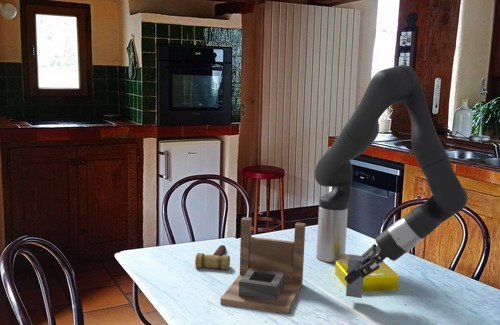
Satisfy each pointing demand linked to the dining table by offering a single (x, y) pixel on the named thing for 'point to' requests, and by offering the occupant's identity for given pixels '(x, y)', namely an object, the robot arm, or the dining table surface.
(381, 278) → the element tile
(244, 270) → the wooden peg insertion stand
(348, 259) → the tan-topped grey pillar
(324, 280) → the dining table surface
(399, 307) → the dining table surface
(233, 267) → the dining table surface
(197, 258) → the gavel
